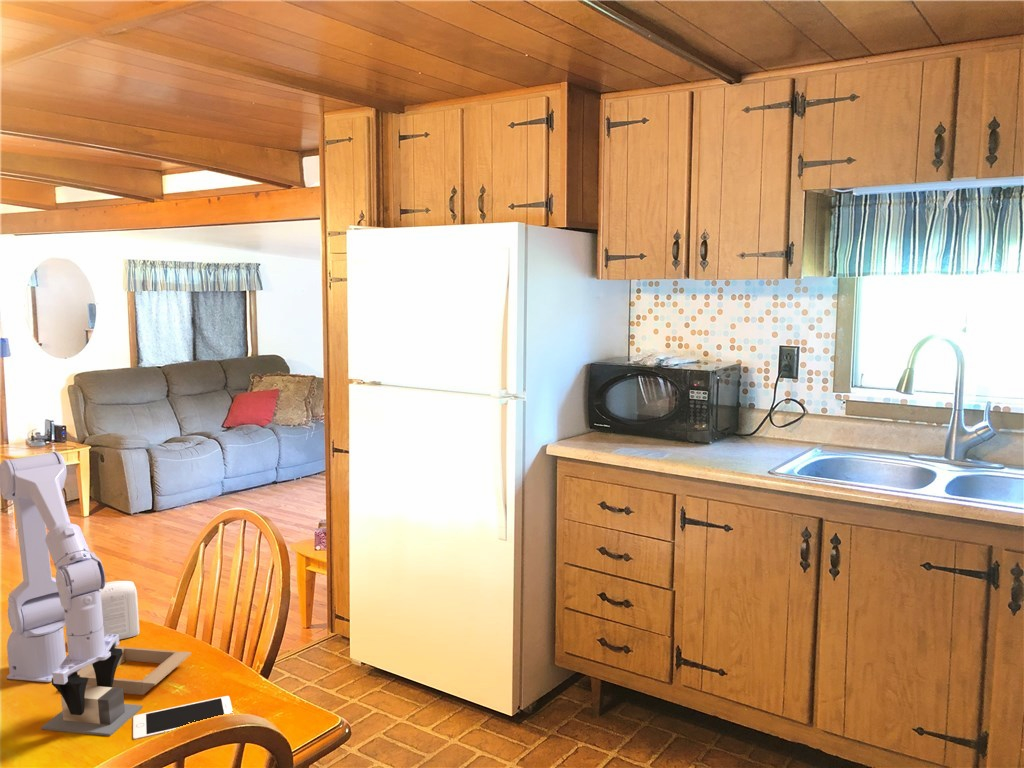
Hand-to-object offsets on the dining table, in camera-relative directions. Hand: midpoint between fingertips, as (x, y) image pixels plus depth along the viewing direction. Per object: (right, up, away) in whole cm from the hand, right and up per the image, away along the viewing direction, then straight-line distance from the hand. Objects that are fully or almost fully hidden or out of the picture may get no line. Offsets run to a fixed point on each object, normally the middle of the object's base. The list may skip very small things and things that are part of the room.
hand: (91, 702), depth 143 cm
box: (0, -3, 0) cm, 3 cm away
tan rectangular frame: (0, -1, +15) cm, 15 cm away
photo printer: (-11, +1, +31) cm, 33 cm away
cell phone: (+16, -4, +1) cm, 16 cm away
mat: (0, -3, 0) cm, 3 cm away
